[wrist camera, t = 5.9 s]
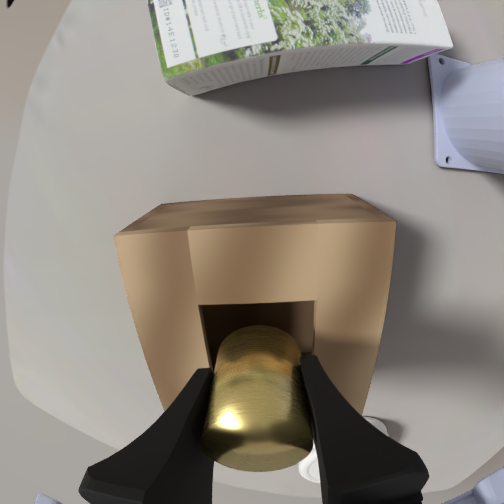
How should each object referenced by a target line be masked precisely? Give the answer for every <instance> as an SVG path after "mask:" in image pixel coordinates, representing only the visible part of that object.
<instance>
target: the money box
mask: <svg viewBox="0 0 504 504" xmlns="http://www.w3.org/2000/svg"><path fill="white" fill-rule="evenodd" d="M395 232H396V221H395V220H393V219H392V218H390V217H389V216H387V215H385V214H384V213H382V212H381V211H379V210H378V209H376V208H374V207H373V206H371V205H369V204H368V203H366V202H365V201H363V200H361V199H360V198H358V197H356V196H355V195H353V194H318V195H287V196H265V197H246V198H230V199H216V200H202V201H190V202H178V203H167V204H161V205H159V206H157V207H156V208H154V209H153V210H151V211H150V212H148V213H147V214H145V215H144V216H142V217H141V218H139V219H138V220H136V221H135V222H133V223H132V224H130V225H129V226H127V227H126V228H124V229H123V230H121V231H120V232H119V233H117V234H116V235H114V240H115V245H116V250H117V255H118V259H119V264H120V268H121V273H122V277H123V281H124V285H125V289H126V293H127V297H128V301H129V305H130V309H131V312H132V316H133V319H134V323H135V326H136V330H137V333H138V337H139V340H140V343H141V346H142V349H143V352H144V356H145V359H146V362H147V365H148V368H149V370H150V373H151V376H152V379H153V382H154V385H155V387H156V390H157V393H158V395H159V398H160V401H161V403H162V406H163V408H164V411H166V409H167V408H168V407H169V406H170V405H171V404H172V402H173V401H174V400H175V398H176V397H177V396H178V394H179V393H180V392H181V391H182V389H183V388H184V386H185V385H186V384H187V382H188V381H189V379H190V378H191V377H192V375H193V374H194V372H195V371H196V370H197V369H198V368H211V369H212V372H213V374H214V370H215V365H216V360H217V355H218V351H219V347H220V345H221V343H222V342H223V340H224V339H225V338H226V337H227V336H228V335H229V334H231V333H232V332H234V331H236V330H238V329H240V328H244V327H248V326H254V325H264V326H271V327H275V328H278V329H280V330H282V331H284V332H286V333H288V334H289V335H290V336H291V337H293V339H294V340H295V341H296V342H297V344H298V346H299V348H300V352H301V357H305V356H311V355H316V356H317V357H318V360H319V362H320V364H321V366H322V367H323V369H324V371H325V372H326V374H327V376H328V377H329V379H330V380H331V381H332V383H333V384H334V385H335V387H336V388H337V389H338V391H339V392H340V393H341V394H342V396H343V397H344V398H345V399H346V400H347V401H348V402H349V404H350V405H351V406H352V407H353V408H354V409H355V410H356V411H357V412H358V413H359V414H360V415H362V413H363V409H364V406H365V402H366V399H367V395H368V391H369V388H370V384H371V380H372V376H373V372H374V367H375V363H376V359H377V354H378V350H379V345H380V340H381V335H382V330H383V324H384V319H385V313H386V307H387V301H388V294H389V287H390V280H391V272H392V263H393V254H394V244H395Z"/></svg>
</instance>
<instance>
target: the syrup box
mask: <svg viewBox="0 0 504 504" xmlns="http://www.w3.org/2000/svg"><path fill="white" fill-rule="evenodd" d="M147 3H148V9H149V14H150V20H151V26H152V31H153V36H154V41H155V45H156V50H157V54H158V59H159V63H160V67H161V72H162V76H163V79H164V81H165V82H166V83H167V84H169V85H170V86H171V87H173V88H175V89H176V90H179V91H181V92H182V93H184V94H186V95H188V96H190V95H191V96H194V95H198V94H201V93H204V92H208V91H211V90H215V89H218V88H222V87H225V86H229V85H232V84H236V83H240V82H244V81H249V80H254V79H258V78H263V77H268V76H273V75H279V74H285V73H292V72H299V71H306V70H314V69H324V68H333V67H346V66H365V65H399V64H410V63H412V62H415V61H418V60H421V59H423V58H426V57H429V56H432V55H434V54H436V53H439V52H442V51H445V50H448V49H451V48H453V43H452V40H451V37H450V34H449V31H448V28H447V26H446V23H445V20H444V17H443V15H442V12H441V9H440V6H439V4H438V2H437V0H147Z"/></svg>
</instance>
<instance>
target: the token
mask: <svg viewBox="0 0 504 504" xmlns="http://www.w3.org/2000/svg"><path fill="white" fill-rule="evenodd" d="M300 357H301V352H300V348H299V346H298V344H297V342H296V341H295V340H294V339H293V337H291V336H290V335H289V334H288V333H286V332H284V331H282V330H280V329H278V328H275V327H271V326H264V325H254V326H248V327H244V328H240V329H238V330H236V331H234V332H232V333H231V334H229V335H228V336H227V337H226V338H225V339H224V340H223V342H222V343H221V345H220V347H219V351H218V355H217V360H216V365H215V370H214V376H213V381H212V386H211V391H210V396H209V401H208V406H207V412H206V417H205V422H204V427H203V432H202V438H201V446H202V448H203V450H204V452H205V453H206V454H207V455H208V456H209V457H210V458H211V459H213V460H214V461H216V462H217V463H219V464H222V465H224V466H227V467H229V468H233V469H237V470H242V471H251V472H266V471H274V470H280V469H284V468H287V467H290V466H292V465H295V464H297V463H299V462H300V461H302V460H303V459H305V458H306V457H307V456H308V455H309V454H310V452H311V451H312V449H313V434H312V427H311V419H310V412H309V406H308V401H307V396H306V392H305V388H304V383H303V377H302V370H301V363H300Z"/></svg>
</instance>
